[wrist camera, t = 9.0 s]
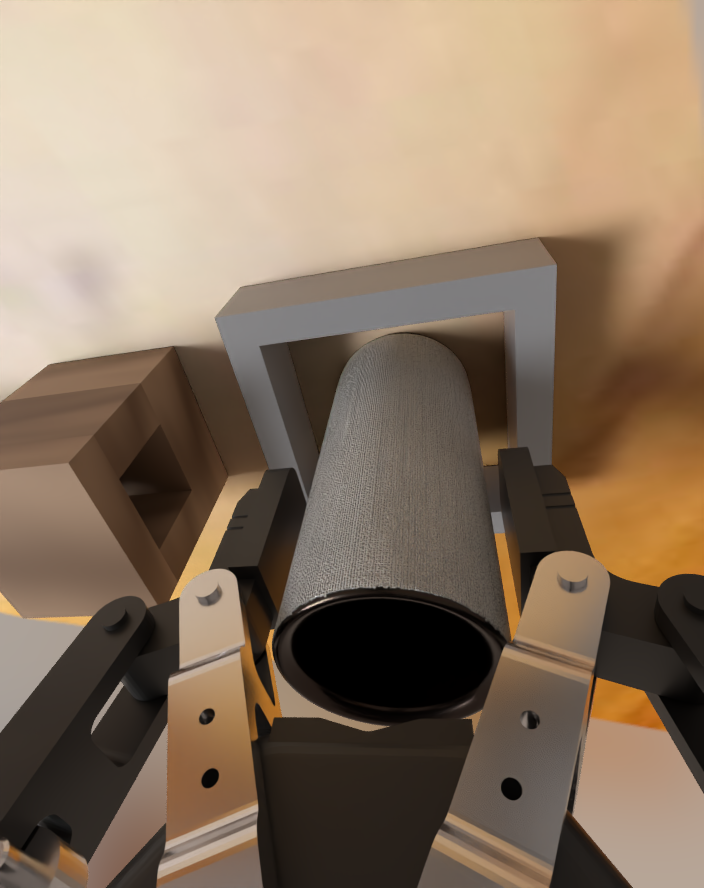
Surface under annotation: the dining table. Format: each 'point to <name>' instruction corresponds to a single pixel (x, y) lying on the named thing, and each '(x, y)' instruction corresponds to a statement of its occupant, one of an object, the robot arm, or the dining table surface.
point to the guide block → (102, 483)
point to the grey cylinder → (396, 548)
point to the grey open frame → (389, 305)
